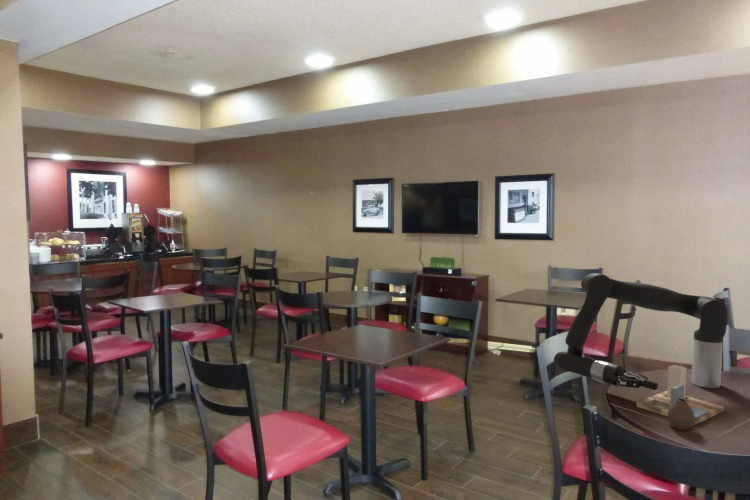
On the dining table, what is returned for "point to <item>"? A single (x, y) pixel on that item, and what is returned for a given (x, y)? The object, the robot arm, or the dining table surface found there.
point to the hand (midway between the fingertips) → (656, 386)
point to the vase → (681, 415)
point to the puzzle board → (662, 405)
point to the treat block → (676, 378)
